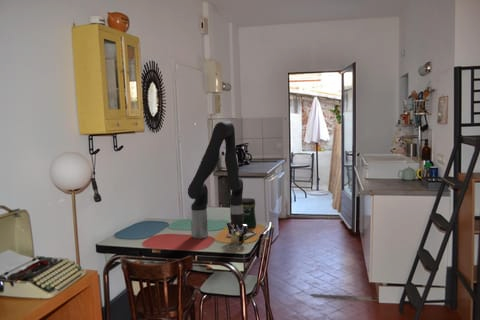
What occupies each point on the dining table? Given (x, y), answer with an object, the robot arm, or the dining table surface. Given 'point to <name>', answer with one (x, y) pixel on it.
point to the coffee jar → (249, 212)
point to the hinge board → (249, 234)
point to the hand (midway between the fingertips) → (237, 240)
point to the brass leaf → (235, 238)
